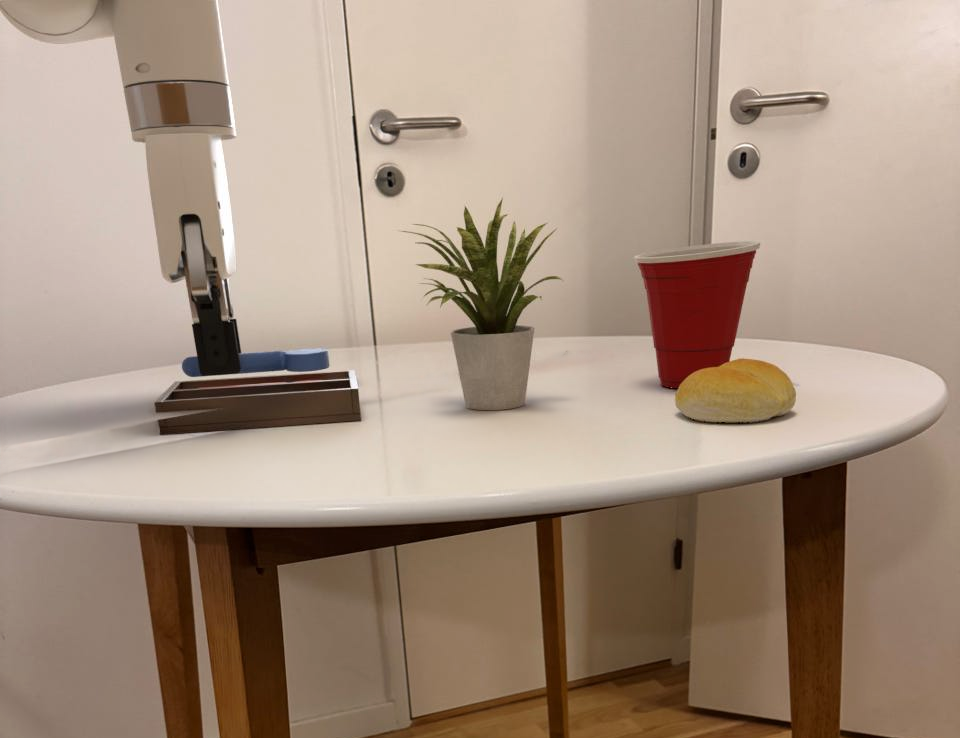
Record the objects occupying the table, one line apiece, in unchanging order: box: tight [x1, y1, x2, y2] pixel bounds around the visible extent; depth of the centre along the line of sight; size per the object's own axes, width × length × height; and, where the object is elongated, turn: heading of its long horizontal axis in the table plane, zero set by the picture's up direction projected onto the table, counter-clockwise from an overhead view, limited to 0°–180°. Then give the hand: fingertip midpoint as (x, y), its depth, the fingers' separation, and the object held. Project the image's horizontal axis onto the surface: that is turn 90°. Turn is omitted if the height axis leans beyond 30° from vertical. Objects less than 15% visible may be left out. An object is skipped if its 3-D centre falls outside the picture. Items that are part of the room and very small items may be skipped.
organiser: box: [153, 369, 362, 436], centre depth 81 cm, size 16×11×3 cm
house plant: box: [396, 196, 563, 411], centre depth 79 cm, size 14×14×16 cm
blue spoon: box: [181, 347, 331, 378], centre depth 77 cm, size 12×4×2 cm, turn 99°
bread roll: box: [674, 357, 797, 424], centre depth 72 cm, size 8×9×4 cm
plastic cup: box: [632, 240, 761, 389], centre depth 84 cm, size 11×11×12 cm
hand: (222, 370), depth 77 cm, fingers closed on blue spoon, 1 cm apart
